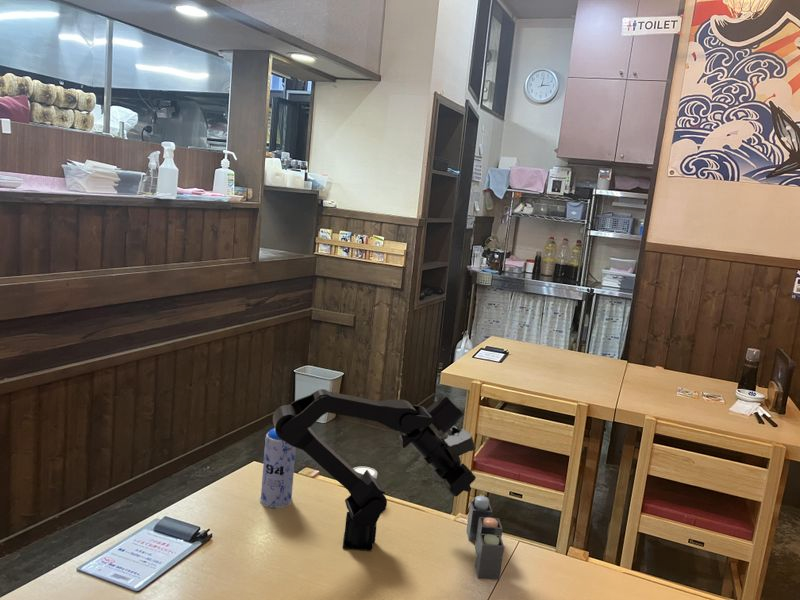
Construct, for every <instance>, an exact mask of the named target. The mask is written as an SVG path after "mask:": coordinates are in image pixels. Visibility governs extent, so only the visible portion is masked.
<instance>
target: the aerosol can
mask: <svg viewBox="0 0 800 600" xmlns="http://www.w3.org/2000/svg"><path fill="white" fill-rule="evenodd" d="M264 439H265V440H264V442H265V443H264V450H263V451H264V453H263V462H262V464H263V465H262V477H261V478H262V479H261V488H260V489H261V490H260V498H259V502H260V504H261V505H262V506H264V507H265V508H270V509H283V508H286V507H289V506H290V505H291V504H292V502H293V498H292V497H293V488H294V487H293V485H294V472H295V462H296V451H297V448H296V447H293V446H291V445H289V444H288V443H286V442H284V441H283V440H281V439H280V438H279V437H278V436H277V434H276V431H275V427H274V428H272V429H270V430H269V431H268V432H267V433H266V434H265V438H264Z"/></svg>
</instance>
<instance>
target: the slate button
mask: <svg viewBox="0 0 800 600" xmlns="http://www.w3.org/2000/svg"><path fill="white" fill-rule="evenodd" d="M474 501H475V505H474V509H475V510H486V511H488V505H489V503H490V499H489V498H488V497H486V496H484V495H477V496H475V499H474Z"/></svg>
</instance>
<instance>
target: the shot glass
mask: <svg viewBox="0 0 800 600" xmlns="http://www.w3.org/2000/svg"><path fill="white" fill-rule="evenodd" d="M352 468H353V469H354V470H355V471H356V472H358V473H361V474H364V473H365V471H366V470H368V471H369V473H370V474H371V475H372V477H374V478H376V479H378V478H377V477H378V471H377V470H376V469H375V468H372V467H369V466H364V465H363V466H356V467H352Z"/></svg>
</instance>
